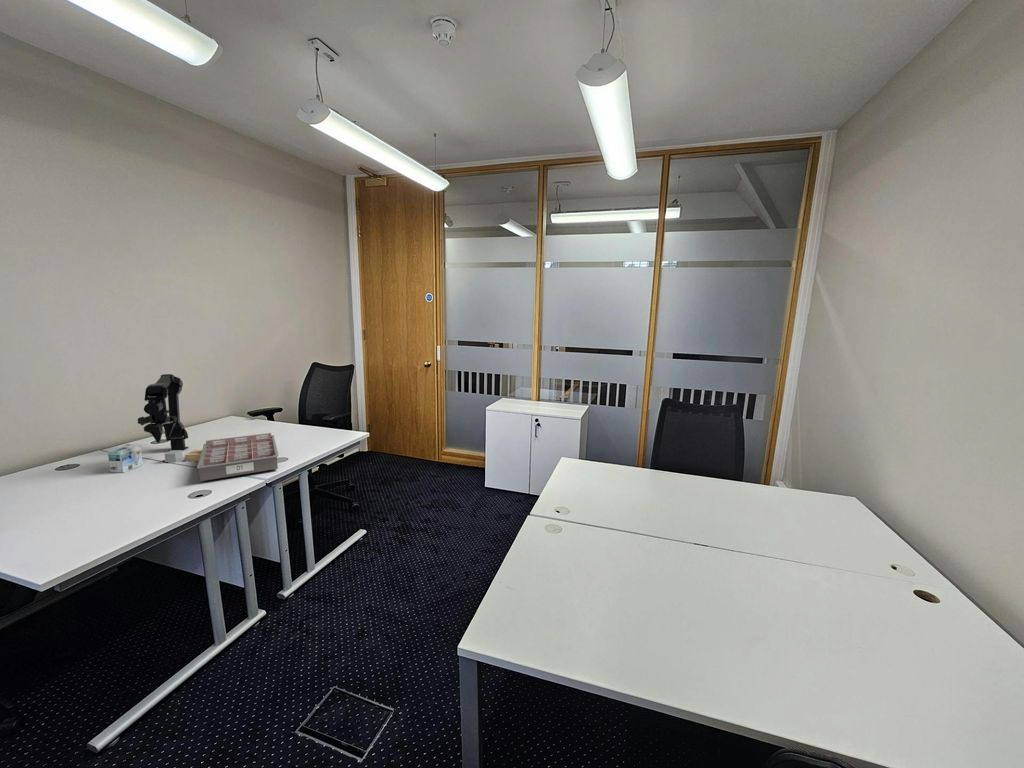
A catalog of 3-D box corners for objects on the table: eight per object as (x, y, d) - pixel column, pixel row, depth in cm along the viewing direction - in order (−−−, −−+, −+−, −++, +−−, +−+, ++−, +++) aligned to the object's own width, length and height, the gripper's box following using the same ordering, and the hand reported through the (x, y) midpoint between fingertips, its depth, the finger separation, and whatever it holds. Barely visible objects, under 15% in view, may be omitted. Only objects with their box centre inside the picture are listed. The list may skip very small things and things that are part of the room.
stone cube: (172, 459, 216) (171, 450, 215) (183, 459, 216) (181, 450, 215) (165, 463, 211) (164, 453, 210) (176, 462, 211) (175, 453, 210)
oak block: (195, 456, 221) (195, 449, 220) (211, 456, 221) (211, 449, 221) (185, 462, 213) (184, 454, 212) (202, 461, 214) (201, 454, 213)
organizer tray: (198, 485, 185) (195, 464, 184) (205, 458, 218) (203, 440, 217) (279, 471, 202) (278, 452, 201) (274, 448, 236) (273, 431, 234)
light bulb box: (123, 473, 197) (120, 451, 195) (109, 472, 197) (106, 451, 195) (143, 464, 207) (140, 444, 206) (130, 464, 208) (127, 444, 206)
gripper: (150, 405, 213) (154, 434, 216) (128, 415, 195) (133, 446, 198) (176, 405, 216) (179, 433, 219) (156, 414, 198) (160, 445, 201)
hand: (163, 439), depth 209 cm, fingers open, 9 cm apart
